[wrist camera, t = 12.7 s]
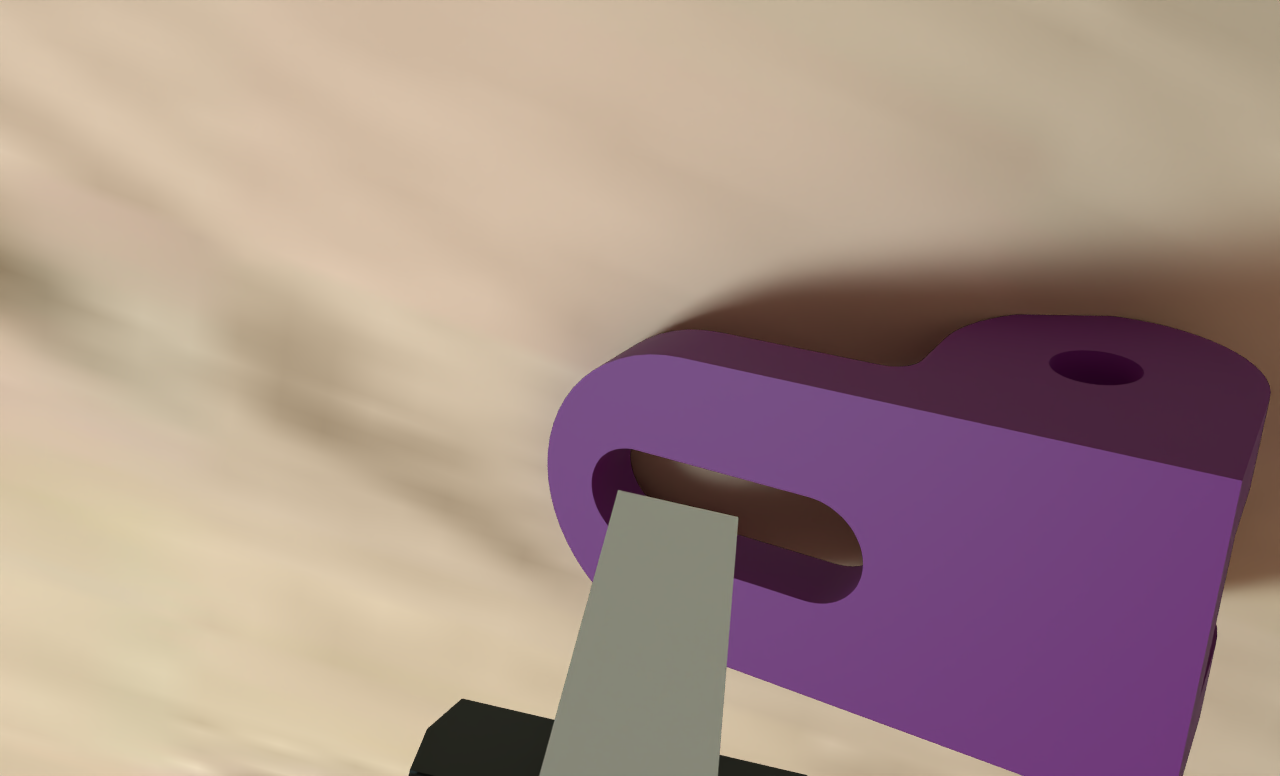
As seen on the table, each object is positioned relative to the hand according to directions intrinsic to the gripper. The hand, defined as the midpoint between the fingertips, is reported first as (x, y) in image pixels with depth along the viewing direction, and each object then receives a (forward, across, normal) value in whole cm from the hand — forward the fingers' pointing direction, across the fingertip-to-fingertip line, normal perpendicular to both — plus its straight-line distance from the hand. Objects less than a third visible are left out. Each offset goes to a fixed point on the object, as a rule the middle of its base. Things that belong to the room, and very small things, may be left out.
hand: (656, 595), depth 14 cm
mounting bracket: (+20, +6, -7) cm, 22 cm away
